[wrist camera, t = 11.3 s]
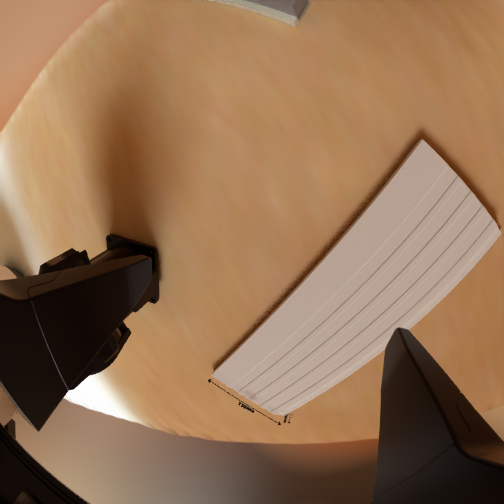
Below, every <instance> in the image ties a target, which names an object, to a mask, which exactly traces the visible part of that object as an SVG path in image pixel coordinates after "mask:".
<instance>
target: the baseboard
mask: <svg viewBox="0 0 504 504" xmlns="http://www.w3.org/2000/svg"><path fill="white" fill-rule="evenodd" d="M500 235H501V231H500V230H499V228H498V225H497V223H496V222H495V221H494V219H493V218H492V217H491V216H490V214H489V213H488V212H487V210H486V209H485V207H484V206H483V205H482V204H481V203H480V201H479V200H478V199H477V198H476V196H475V195H474V194H473V192H472V191H471V190H470V189H469V188H468V187H467V185H466V184H465V183H464V182H463V181H462V179H461V178H460V177H459V176H458V175H457V174H456V173H455V172H454V171H453V170H452V169H451V168H450V167H449V165H448V164H447V163H446V162H445V161H444V160H443V159H442V158H441V157H440V156H439V155H438V154H437V153H436V152H435V151H434V150H433V149H432V148H431V147H430V146H429V145H428V144H427V143H426V142H425V141H424V140H423V139H419V141H418V142H417V143H416V145H415V146H414V147H413V149H412V150H411V151H410V153H409V154H408V155H407V157H406V158H405V159H404V160H403V162H402V163H401V164H400V166H399V167H398V168H397V169H396V171H395V172H394V173H393V175H392V176H391V177H390V178H389V180H388V181H387V182H386V183H385V185H384V186H383V187H382V188H381V190H380V191H379V192H378V193H377V195H376V196H375V197H374V198H373V199H372V201H371V202H370V203H369V204H368V205H367V207H366V208H365V209H364V210H363V211H362V213H361V214H360V215H359V216H358V217H357V219H356V220H355V221H354V222H353V223H352V225H351V226H350V227H349V228H348V229H347V230H346V232H345V233H344V234H343V235H342V236H341V237H340V239H339V240H338V241H337V242H336V243H335V244H334V245H333V247H332V248H331V249H330V250H329V251H328V252H327V253H326V254H325V256H324V257H323V258H322V259H321V260H320V261H319V262H318V263H317V265H316V266H315V267H314V268H313V269H312V270H311V271H310V272H309V273H308V274H307V276H306V277H305V278H304V279H303V280H302V281H301V282H300V283H299V284H298V285H297V286H296V288H295V289H294V290H293V291H292V292H291V293H290V294H289V295H288V296H287V297H286V298H285V299H284V300H283V301H282V302H281V304H280V305H279V306H278V307H277V308H276V309H275V310H274V311H273V312H272V313H271V314H270V315H269V316H268V317H267V318H266V319H265V320H264V321H263V322H262V323H261V324H260V325H259V326H258V327H257V328H256V329H255V330H254V331H253V332H252V333H251V334H250V335H249V336H248V337H247V338H246V339H245V340H244V341H243V342H242V343H241V344H240V345H239V346H238V347H237V348H236V349H235V350H234V351H233V352H232V353H231V354H230V355H229V356H228V357H227V358H226V359H225V360H224V361H223V362H222V363H221V364H220V365H219V366H218V367H217V368H216V369H215V370H214V371H213V373H212V374H211V375H212V376H213V377H215V378H216V379H217V380H219V381H220V382H222V383H223V384H225V385H226V386H228V387H229V388H232V389H234V390H235V391H237V392H238V393H239V394H240V395H243V396H245V397H246V398H248V399H249V400H250V401H251V402H252V401H253V402H254V403H256V404H257V405H259V406H260V407H261V408H264V409H266V410H268V411H269V412H270V413H272V414H273V415H276V414H280V415H282V416H284V415H286V414H288V413H290V412H292V411H293V410H295V409H297V408H299V407H300V406H302V405H304V404H305V403H307V402H309V401H310V400H312V399H314V398H315V397H317V396H319V395H320V394H322V393H323V392H325V391H327V390H328V389H330V388H331V387H333V386H334V385H336V384H337V383H339V382H340V381H342V380H343V379H345V378H346V377H348V376H349V375H351V374H352V373H354V372H355V371H356V370H358V369H359V368H361V367H362V366H363V365H365V364H366V363H367V362H369V361H370V360H372V359H373V358H374V357H376V356H377V355H378V354H379V353H381V352H382V351H383V350H385V348H386V346H387V343H388V342H389V340H390V338H391V336H392V334H393V332H394V331H395V329H396V328H397V327H401V328H405V329H408V330H409V329H410V328H411V327H413V326H414V325H415V324H416V323H417V322H418V321H419V320H421V319H422V318H423V317H424V316H425V315H426V314H427V313H428V312H429V311H430V310H432V309H433V308H434V307H435V306H436V305H437V304H438V303H439V302H440V301H441V300H442V299H443V298H444V297H445V296H446V295H447V294H448V293H449V292H450V291H451V290H452V289H453V288H454V287H455V286H456V285H457V284H458V283H459V282H460V281H461V280H462V279H463V278H464V277H465V276H466V274H467V273H468V272H469V271H470V270H471V269H472V268H473V267H474V266H475V265H476V263H477V262H478V261H479V260H480V259H481V258H482V257H483V255H484V254H485V253H486V252H487V251H488V249H489V248H490V247H491V246H492V245H493V243H494V242H495V241H496V240H497V238H498V237H499V236H500ZM208 381H209V383H210V382H211V379H209V380H208ZM212 383H213V382H212ZM213 384H214V383H213ZM215 385H216V384H215ZM216 386H217V385H216ZM218 387H219V386H218ZM219 388H220V387H219ZM221 389H222V388H221ZM222 390H223V389H222ZM224 391H225V390H224ZM225 392H226V391H225ZM227 393H228V392H227ZM228 394H229V393H228ZM230 395H231V394H230ZM232 396H233V395H232ZM233 397H234V396H233ZM235 398H236V397H235ZM236 399H237V398H236ZM238 400H239V399H238ZM239 401H240V400H239ZM241 402H242V401H241ZM241 402H239V405H240V404H241ZM243 403H244V402H243ZM244 404H245V403H244ZM244 404H242V405H241V407H243V405H244ZM246 405H247V404H246ZM246 405H244V407H243V408H244V409H245V408H246V407H247V406H246ZM248 406H249V405H248ZM249 407H250V406H249ZM249 407H247V408H246V409H247V410H250V409H251V408H252V407H251V408H249ZM253 409H254V408H253ZM251 410H252V409H251ZM251 410H250V411H251ZM254 410H255V409H254ZM254 410H252V411H251V412H252V413H254ZM256 411H257V410H256ZM258 412H259V411H258ZM259 413H260V412H259ZM261 414H262V413H261ZM263 415H264V414H263ZM264 416H265V415H264ZM266 417H267V416H266ZM286 417H287V415H286V416H285V418H286ZM268 418H269V417H268ZM285 418H284V421H285V422H284V421H283V422H284V423H286V420H287V418H286V420H285ZM270 419H271V418H270ZM271 420H272V419H271ZM273 421H274V420H273ZM289 421H290V419H289ZM275 422H276V421H275ZM277 423H278V422H277ZM288 423H290V422H288ZM278 425H281V423H280V421H279V423H278Z"/></svg>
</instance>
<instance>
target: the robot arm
mask: <svg viewBox="0 0 504 504" xmlns="http://www.w3.org/2000/svg"><path fill="white" fill-rule="evenodd" d="M106 240H107V250H105V251H104V252H102V253H101V254H99V255H97V256H96V257H94V258H92V259H91V260H89V258H88V256H87V255H88V254H87V252H86V250H84V251H82V252H80V253H79V251H76V250H74V249H73V248H71V249H70V250H68V251H66V252H64V253H63V254H61V255H59V256H57V257H55V258H53V259H51V260H49V261H47V262H45V263H44V264H42V265H41V266H40V270H39V274H38V275H34V276H28V277H21V278H14V279H7V280H0V504H90V503H89V502H87V501H86V500H84V499H83V498H82V497H80V496H79V495H77V494H76V493H75V492H73V491H72V490H71V489H69V488H68V487H67V486H66V485H64V484H63V483H62V482H61V481H59V480H58V479H57V478H56V477H55V476H53V475H52V474H51V473H50V472H49V471H48V470H46V469H45V468H44V467H43V466H42V465H41V464H40V463H39V462H38V461H36V459H35V458H33V457H32V456H31V455H30V454H29V453H28V452H27V451H26V450H25V449H24V448H23V447H22V446H21V445H20V444H19V443H18V441H17V440H16V438H15V437H16V436H15V421H14V420H13V419H12V418H13V417H14V415H16V414H17V412H18V413H19V414H20V415H22V417H23V418H24V419H25V420H26V421H27V422H28V423H29V424H30V425H31V426H32V427H33V428H34V429H36V430H37V431H40V429H41V428H42V427H43V425H44V424H45V423H46V421H47V420H48V418H49V417H50V415H51V414H52V413H53V411H54V410H55V408H56V407H57V406H58V404H59V403H60V401H61V400H62V399H63V397H64V396H65V395H66V393H67V392H68V390H73V389H75V388H76V387H77V386H78V385H79V384H80V383H81V382H82V381H83V380H84V379H86V378H87V377H88V376H89V375H94V374H97V373H99V372H101V371H103V370H104V369H106V368H107V367H108V366H109V365H111V364H112V363H113V362H114V360H115V359H116V358H117V356H118V354H119V353H120V351H121V349H122V348H123V346H124V344H125V343H126V341H127V339H128V338H129V336H130V334H131V331H130V330H129V328H127V326H126V325H125V323H124V322H123V321H124V319H125V318H126V317H127V316H129V315H130V314H131V313H132V312H137V311H138V310H139V309H140V308H142V307H143V306H144V305H145V304H146V303H147V302H151V303H154V304H155V303H157V302H158V300H159V296H158V292H159V281H158V263H157V250H156V248H155V247H153V246H149V245H146V244H143V243H140V242H136V241H133V240H130V239H127V238H123V237H120V236H117V235H114V234H109V235H108V236H107V237H106ZM151 251H152V252H153V253H152V252H151ZM153 298H154V299H153ZM371 504H504V441H503V440H502V439H501V438H500V437H499V436H498V435H497V434H496V433H495V431H494V430H493V429H492V428H491V427H490V426H489V424H488V423H487V422H486V421H485V420H484V419H483V418H482V417H481V415H480V414H479V413H478V412H477V411H476V410H475V409H474V407H473V406H472V405H471V404H470V402H469V401H468V400H467V399H466V397H465V396H464V395H463V394H462V393H460V390H459V389H458V387H457V386H456V385H455V384H454V382H453V381H452V380H451V379H450V378H449V376H448V375H447V374H446V373H445V372H444V370H443V369H442V368H441V367H440V366H439V364H438V363H437V362H436V361H435V360H434V359H433V357H432V356H431V355H430V354H429V353H428V352H427V350H426V349H425V348H424V347H423V346H422V345H421V344H420V342H419V341H418V340H417V339H416V338H415V337H414V336H413V334H412V333H411V332H410V331H409V330H408V329H405V328H401V327H397V328H396V329H395V331H394V332H393V334H392V336H391V338H390V340H389V342H388V343H387V346H386V348H385V356H384V366H383V376H382V384H381V411H380V431H379V446H378V457H377V467H376V475H375V482H374V489H373V496H372V501H371Z"/></svg>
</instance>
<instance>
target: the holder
mask: <svg viewBox="0 0 504 504" xmlns="http://www.w3.org/2000/svg"><path fill="white" fill-rule="evenodd" d="M207 1H212V2H217V3H221V4H225V5H229V6H233V7H237V8H241V9H244V10H248V11H251V12H254V13H258V14H261V15H264V16H267V17H270V18H273V19H276V20H278V21H281V22H284V23H287V24H289V25H292V26H294V27H296V26H297V25H298V23H299V21H300V20H301V18H302V17H303V15H304V14H305V12H306V10H307V9H308V7H309V6H310V4H311V3H312V1H313V0H207Z"/></svg>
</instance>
